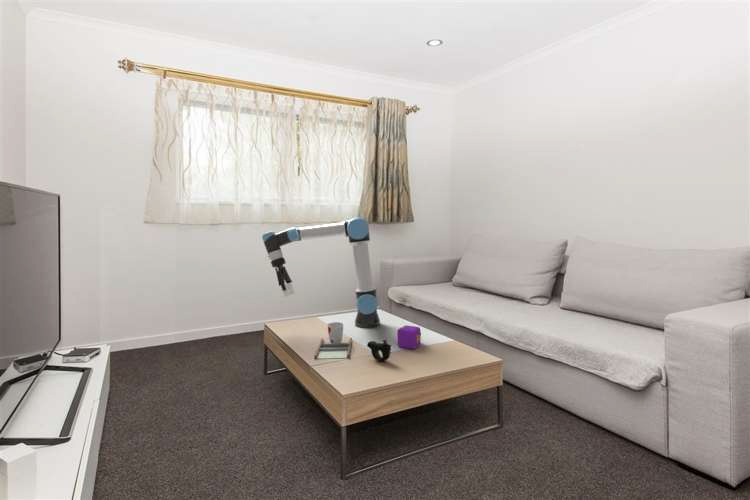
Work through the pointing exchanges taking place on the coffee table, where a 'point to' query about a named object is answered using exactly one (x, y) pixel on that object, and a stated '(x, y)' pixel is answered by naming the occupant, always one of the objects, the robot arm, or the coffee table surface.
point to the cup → (335, 332)
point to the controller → (383, 347)
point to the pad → (332, 354)
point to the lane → (322, 343)
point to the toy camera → (409, 337)
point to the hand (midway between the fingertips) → (289, 295)
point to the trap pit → (334, 347)
